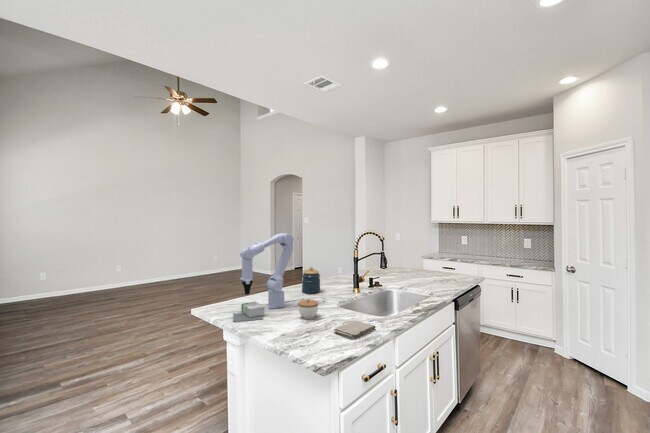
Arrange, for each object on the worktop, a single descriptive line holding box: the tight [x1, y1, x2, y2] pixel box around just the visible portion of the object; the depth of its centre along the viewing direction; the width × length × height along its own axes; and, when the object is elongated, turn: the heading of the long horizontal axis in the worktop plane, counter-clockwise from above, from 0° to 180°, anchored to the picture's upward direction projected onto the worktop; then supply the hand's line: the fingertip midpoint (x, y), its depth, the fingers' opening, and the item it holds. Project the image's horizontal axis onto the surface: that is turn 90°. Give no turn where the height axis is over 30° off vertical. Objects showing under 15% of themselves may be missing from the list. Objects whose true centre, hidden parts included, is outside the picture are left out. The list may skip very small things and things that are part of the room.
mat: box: [232, 312, 264, 323], centre depth 166 cm, size 15×12×1 cm
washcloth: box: [334, 320, 376, 340], centre depth 146 cm, size 12×18×3 cm, turn 137°
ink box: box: [241, 300, 265, 317], centre depth 170 cm, size 9×5×12 cm
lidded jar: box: [297, 298, 319, 320], centre depth 167 cm, size 11×11×9 cm
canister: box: [301, 266, 321, 295], centre depth 219 cm, size 13×13×18 cm
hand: (247, 294), depth 175 cm, fingers closed
